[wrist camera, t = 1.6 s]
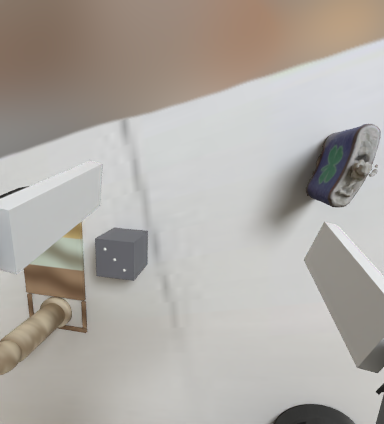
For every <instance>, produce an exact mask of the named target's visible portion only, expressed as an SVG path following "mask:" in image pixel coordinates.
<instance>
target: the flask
mask: <svg viewBox="0 0 384 424" xmlns="http://www.w3.org/2000/svg"><path fill="white" fill-rule="evenodd" d="M379 139H380V129H379V128H378V127H377V126H375V125H373V124H364V125H362V126H360V127H357V128H353V129H350V130H345V131H342V132H337V133H333V134H331V135H330V136H328V138H327V139H326V141H325V143H324V144H323V150H322V153H321V154H320V156H319V158H318V160H317V163H316V170H315V171H314V172H313V176H312V178H311V179H310V181H309V183H308V185H307V187H306V192H307V196H308V195H309V196H310V197H311V198H314V199H316V200H318V201H321V202H324V203H325V204H327V205H330V206H332V207H344V206H346V205H347V204H349V203H350V201H351V200H352V199H353V197H354V196H355V194H356V193H357V192H358V190H359V189H360V187H361V186H362V184H363V182H364V181H365V179H366V177H367V175H368V173H369V171H370V170H372V164H373V160H374V158H375V154H376V151H377V148H378V145H379ZM375 167H376V168H377V167H378V165H375ZM376 173H377V169H375V170H373V171H372V173H371V174H369V176H370V177H372V176H374V175H375V174H376Z"/></svg>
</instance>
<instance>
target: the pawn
mask: <svg viewBox="0 0 384 424" xmlns="http://www.w3.org/2000/svg"><path fill="white" fill-rule="evenodd" d="M71 317H72V310H71V307H70V305H69V304H68V303H67V302H66V301H65V300H64V299H62V298H60V297H50V298H48V299H47V300H46V301H44V302H43V303H42V305H41V307H40V310H39V311H37V312H36V313H35V314H34V315H32V316H31V317H30V318H28V319H27V320H26V321H24V322H23V323H22V324H21V325H19V326H18V327H17V328H15V329H14V330H13V331H12V332H10V333H9V334H8V335H6V336H5V337H4V338H2V339H1V341H0V375H3V374H5V373H8V372H9V371H11V370H12V369H13V368H14V367H15V366H16V365H17V364H18V362H21V361H23V360H24V359H25V358H26V357H27V356H28V355H29V354H30V353H31V352H32V351H33V350H34V349H35V348H36V347H37V346H38V345H39V344H41V343H42V342H43V341H44V340H45V339H46V338H47V337H48V336H49V335H50V334H51V333H52V332H53V331H54V330H55V329H56V328H60V327H63V326H65V325H66V324H67V323H68V322H69V321H70V319H71Z"/></svg>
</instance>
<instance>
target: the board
mask: <svg viewBox="0 0 384 424" xmlns="http://www.w3.org/2000/svg"><path fill="white" fill-rule="evenodd" d="M24 274H25V283H26V292H28V293H29V294H27V297H28V306H29V316H30V317H31V316H32V315H34V312H33V302H32V294H31V293H35V294H42V295H49V296H55V297H62V298H69V299H76V300H83V301H82V302H81V304H82V323H83V328H79V327H73V326H67V325H65V326H63V327H60V328H59V329H65V330H71V331H77V332H83V333H86V332H87V329H85V328H86V327H87V319H86V301H84V300H85V280H84V260H83V240H82V221H81V222H80V223H79V224H78V225H76V226H75V227H74V228H73V229H71V230H70V231H69V232H68V233H67V234H65V235H64V236H63V237H62V238H61V239H59V240H58V241H57V242H56V243H54V244H53V245H52V246H51V247H50V248H48V249H47V250H46V251H45V252H43V253H42V254H41V255H40V256H39V257H37V258H36V259H35V260H34V261H32V262H31V263H30V264H29V265H28V266H26V267H25V268H24Z"/></svg>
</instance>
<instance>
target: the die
mask: <svg viewBox="0 0 384 424" xmlns="http://www.w3.org/2000/svg"><path fill="white" fill-rule="evenodd" d="M95 246H96V272H97V276H102V277H109V278H117V279H125V280H133V281H134V280H135V279H136V278H137V276H138V275H139V274H140V273H141V271H142V270H143V269H144V268H145V266H146V265H147V251H148V231H142V230H132V229H122V228H113V229H111V230H109V231H108V232H106V233H104V234H102V235H101V236H99V237H97V238H95Z"/></svg>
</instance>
